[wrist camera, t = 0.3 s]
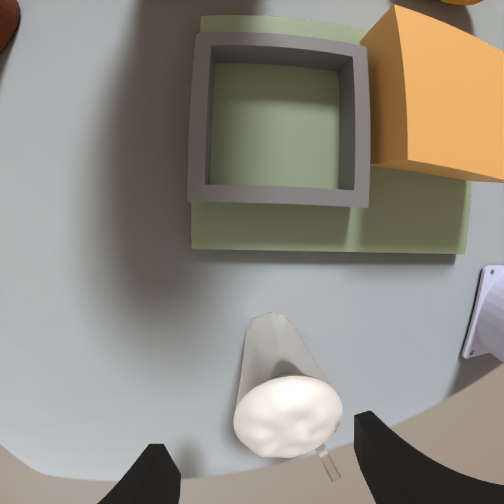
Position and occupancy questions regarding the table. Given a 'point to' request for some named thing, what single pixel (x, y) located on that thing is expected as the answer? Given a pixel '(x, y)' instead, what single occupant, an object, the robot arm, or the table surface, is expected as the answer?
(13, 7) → the bottle
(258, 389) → the milkshake
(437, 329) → the table surface
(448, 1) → the fruit
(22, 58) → the table surface
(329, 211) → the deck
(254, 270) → the table surface
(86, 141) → the table surface
